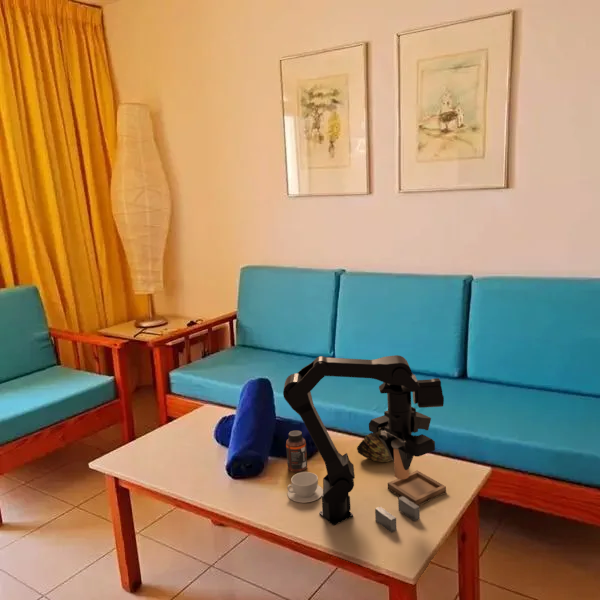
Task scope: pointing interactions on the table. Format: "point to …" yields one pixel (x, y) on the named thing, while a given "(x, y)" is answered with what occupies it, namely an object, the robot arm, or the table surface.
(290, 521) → the table surface
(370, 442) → the seashell
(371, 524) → the table surface
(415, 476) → the tray
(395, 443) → the pin
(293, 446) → the supplement bottle
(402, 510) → the hitch bracket
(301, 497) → the teacup
